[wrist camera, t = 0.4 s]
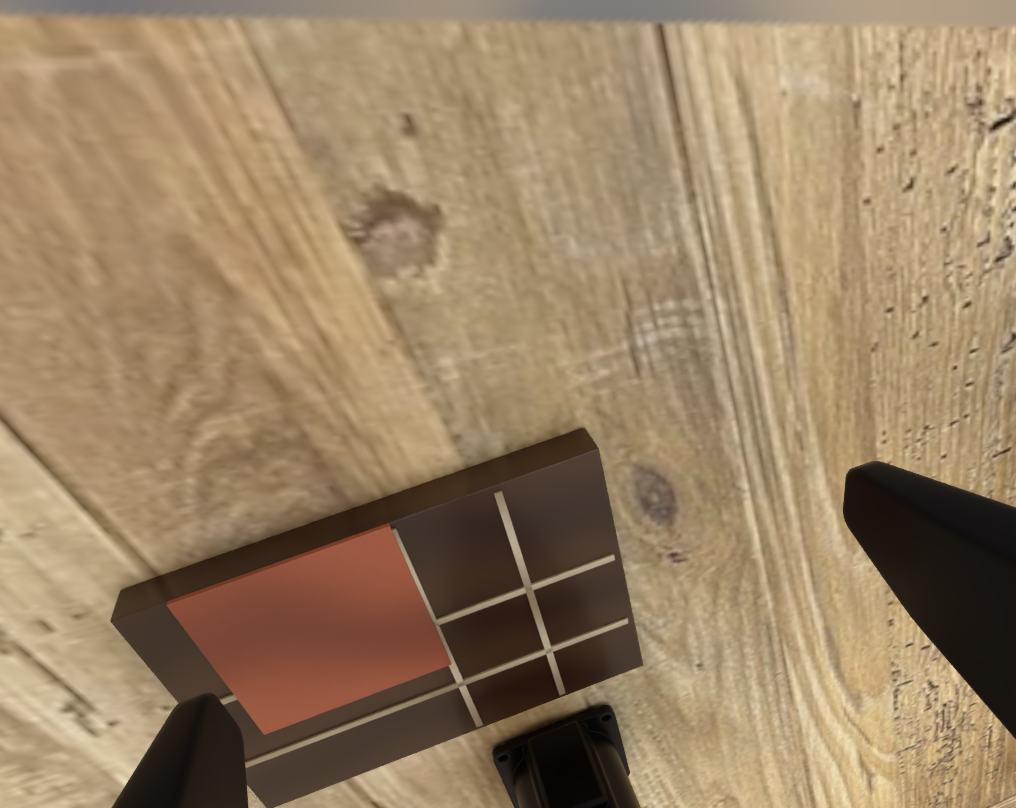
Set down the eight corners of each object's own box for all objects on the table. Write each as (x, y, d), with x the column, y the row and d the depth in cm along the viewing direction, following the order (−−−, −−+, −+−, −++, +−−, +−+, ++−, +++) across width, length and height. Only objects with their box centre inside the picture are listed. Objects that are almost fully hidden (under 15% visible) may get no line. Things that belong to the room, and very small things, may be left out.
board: (631, 640, 33) (645, 669, 32) (269, 778, 32) (267, 814, 30) (584, 427, 26) (601, 451, 25) (119, 590, 25) (107, 625, 23)
